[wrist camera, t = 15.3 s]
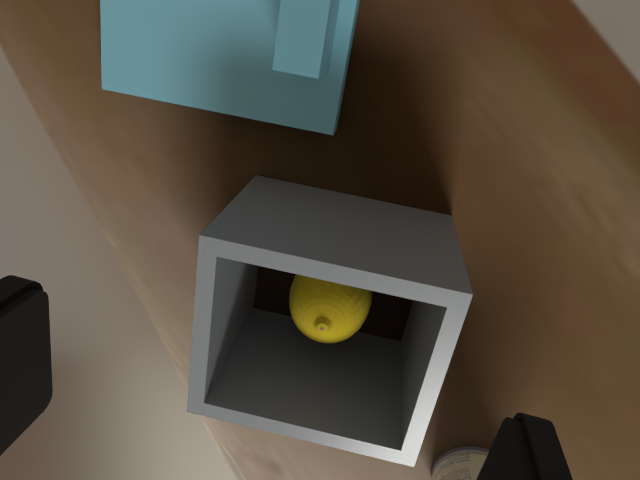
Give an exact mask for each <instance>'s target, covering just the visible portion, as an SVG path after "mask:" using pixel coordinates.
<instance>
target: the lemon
mask: <svg viewBox="0 0 640 480" xmlns="http://www.w3.org/2000/svg"><path fill="white" fill-rule="evenodd" d="M371 302H372V291H371V290H366V289H362V288H357V287H353V286H348V285H343V284H339V283H334V282H330V281H325V280H321V279H316V278H312V277H307V276H303V275H298V274H296V275H295V277H294V279H293V282H292V285H291V289H290V299H289V307H290V311H291V315H292V319H293V321H294V323H295V324H296V326H297V328H298V329H299V330H300V331H301V332H302V333H303V334H304V335H305V336H307V337H308V338H310V339H312V340H314V341H317V342H321V343H337V342H341V341H344V340H346V339H348V338H350V337H351V336H352V335H354V334H355V333H356V332H357V331H358V330H359V329H360V328H361V326H362V324H363V323H364V321H365V319H366V318H367V316H368V313H369V310H370V306H371Z"/></svg>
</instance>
